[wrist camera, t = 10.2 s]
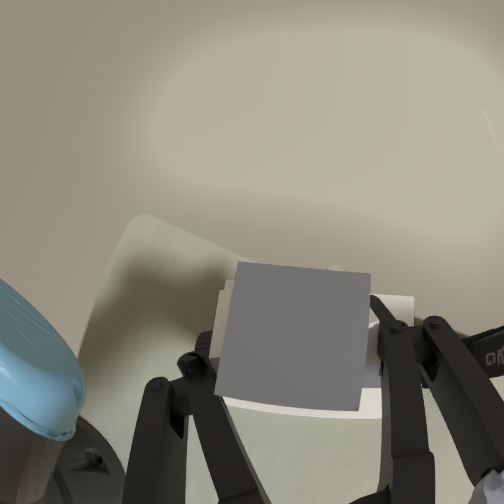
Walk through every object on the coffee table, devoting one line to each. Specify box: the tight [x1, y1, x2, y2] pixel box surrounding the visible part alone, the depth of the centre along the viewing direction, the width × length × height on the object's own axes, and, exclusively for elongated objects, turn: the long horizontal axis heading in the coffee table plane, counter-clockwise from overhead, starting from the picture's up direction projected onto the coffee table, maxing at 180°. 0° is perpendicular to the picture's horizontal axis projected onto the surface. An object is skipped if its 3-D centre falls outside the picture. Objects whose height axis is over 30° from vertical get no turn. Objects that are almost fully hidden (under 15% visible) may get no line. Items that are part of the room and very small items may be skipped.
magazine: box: [418, 326, 504, 389], centre depth 17 cm, size 4×13×15 cm, turn 93°
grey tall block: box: [214, 261, 371, 411], centre depth 14 cm, size 5×5×12 cm
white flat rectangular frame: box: [222, 279, 414, 419], centre depth 24 cm, size 19×12×2 cm, turn 81°
